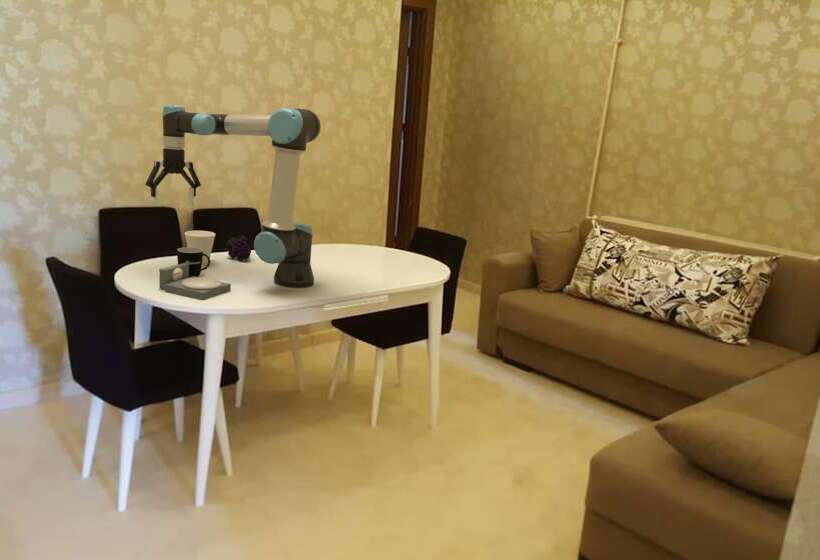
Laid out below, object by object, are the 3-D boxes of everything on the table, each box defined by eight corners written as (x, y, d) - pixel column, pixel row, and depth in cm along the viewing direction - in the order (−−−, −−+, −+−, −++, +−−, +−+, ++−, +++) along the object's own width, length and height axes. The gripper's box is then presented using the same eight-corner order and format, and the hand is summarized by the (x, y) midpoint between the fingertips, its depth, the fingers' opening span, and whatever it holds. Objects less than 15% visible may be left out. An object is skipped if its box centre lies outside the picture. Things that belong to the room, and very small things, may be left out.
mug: (180, 280, 239) (181, 253, 237) (174, 274, 246) (174, 247, 244) (213, 278, 246) (214, 251, 243) (206, 272, 253) (206, 246, 250)
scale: (230, 290, 232) (231, 271, 230) (202, 300, 218) (203, 279, 216) (185, 281, 238) (186, 262, 237) (156, 289, 225) (156, 269, 223)
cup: (220, 265, 266) (221, 235, 263) (194, 268, 257) (194, 237, 254) (204, 259, 273) (205, 229, 270) (178, 261, 264) (178, 231, 261)
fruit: (238, 269, 274) (219, 253, 282) (260, 263, 281) (241, 248, 289) (239, 248, 268) (219, 233, 277) (261, 242, 275) (241, 227, 284)
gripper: (201, 148, 252) (200, 203, 257) (135, 146, 236) (136, 204, 241) (210, 150, 247) (209, 206, 252) (143, 147, 230) (144, 207, 235)
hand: (173, 205), depth 246 cm, fingers open, 13 cm apart
